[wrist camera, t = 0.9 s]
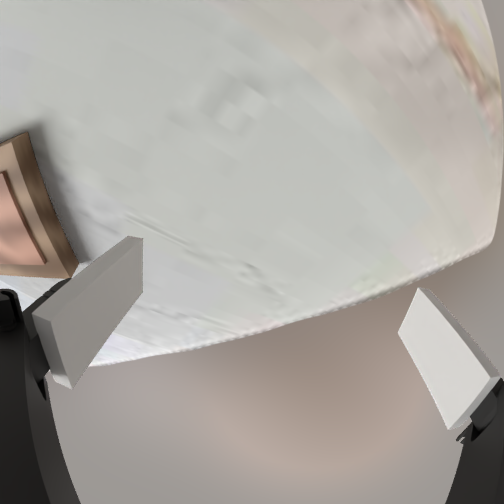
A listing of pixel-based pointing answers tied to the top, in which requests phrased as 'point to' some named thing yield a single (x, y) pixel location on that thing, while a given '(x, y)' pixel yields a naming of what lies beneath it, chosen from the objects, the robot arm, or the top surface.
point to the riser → (29, 218)
